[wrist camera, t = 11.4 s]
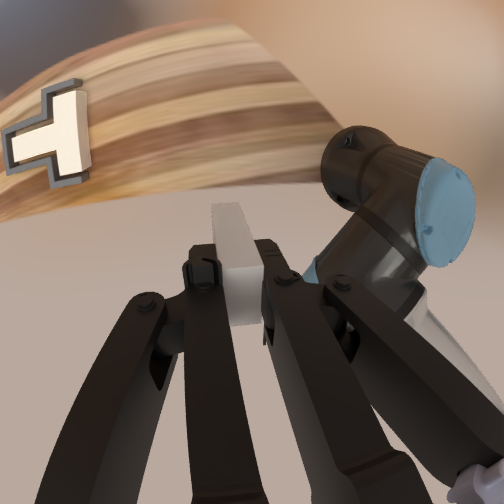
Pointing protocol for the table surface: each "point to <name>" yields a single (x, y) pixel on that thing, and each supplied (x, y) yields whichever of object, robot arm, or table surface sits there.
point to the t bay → (50, 160)
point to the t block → (60, 135)
